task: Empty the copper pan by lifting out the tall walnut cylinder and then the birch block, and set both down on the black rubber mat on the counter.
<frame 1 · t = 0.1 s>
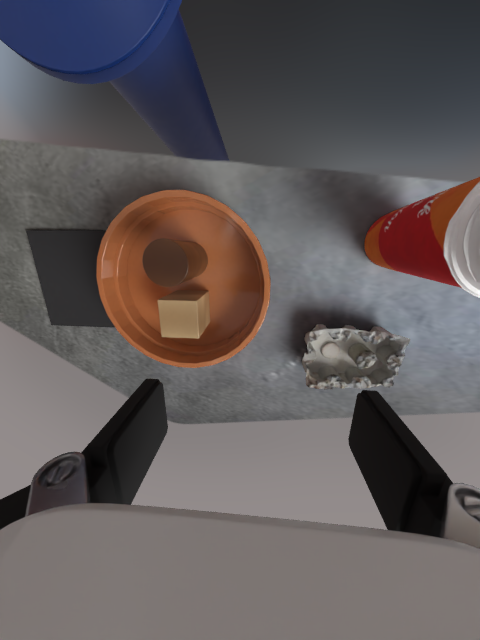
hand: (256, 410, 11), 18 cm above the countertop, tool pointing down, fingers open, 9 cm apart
pan: (193, 283, 27), on the countertop
walnut cylinder: (191, 259, 26), resting on pan
egg carton: (343, 348, 28), on the countertop
mat: (78, 281, 28), on the countertop
birch block: (193, 306, 27), resting on pan
paper cup: (389, 240, 24), on the countertop
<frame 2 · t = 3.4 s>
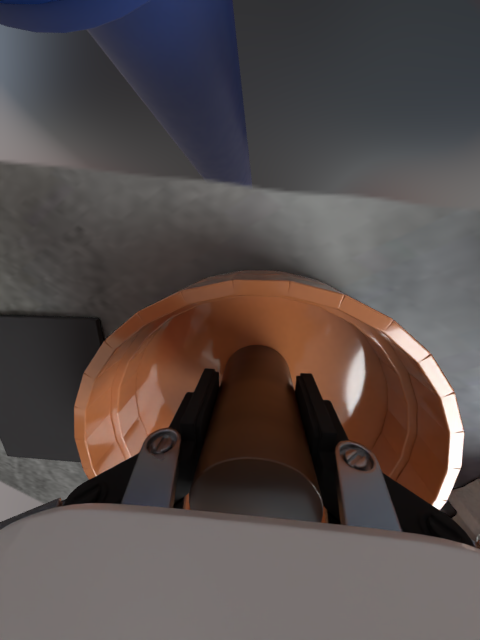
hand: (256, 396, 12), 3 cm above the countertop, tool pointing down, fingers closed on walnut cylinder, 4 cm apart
pan: (255, 406, 15), on the countertop
walnut cylinder: (256, 374, 14), point 1 cm above the countertop, touching gripper, pan
mat: (50, 394, 16), on the countertop
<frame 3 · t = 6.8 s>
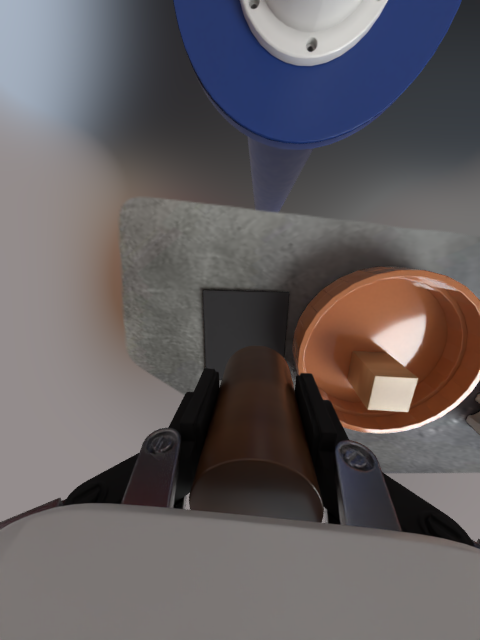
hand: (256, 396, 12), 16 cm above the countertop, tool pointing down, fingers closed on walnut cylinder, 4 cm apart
pan: (368, 343, 27), on the countertop
walnut cylinder: (256, 374, 14), point 14 cm above the countertop, touching gripper
mat: (244, 338, 28), on the countertop
birch block: (366, 366, 27), resting on pan
when the fingers open (3 cm above the countertop, at t = 10.1 s): walnut cylinder stays where it is, resting on mat.
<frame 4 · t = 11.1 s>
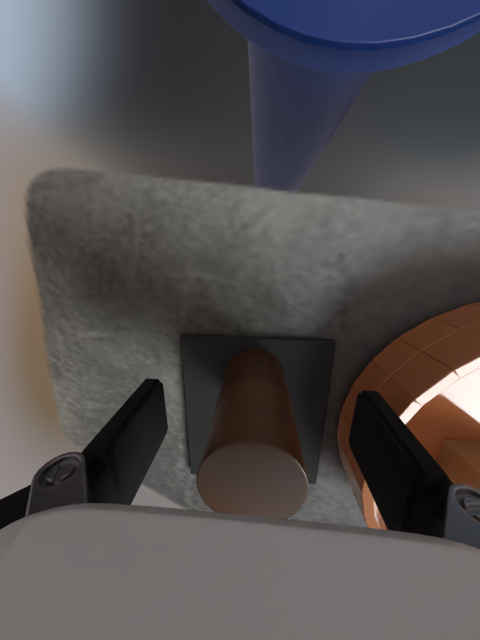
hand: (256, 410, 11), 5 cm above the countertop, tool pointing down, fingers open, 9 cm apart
pan: (471, 425, 15), on the countertop
walnut cylinder: (254, 375, 15), resting on mat
mat: (253, 412, 16), on the countertop
birch block: (466, 463, 16), resting on pan
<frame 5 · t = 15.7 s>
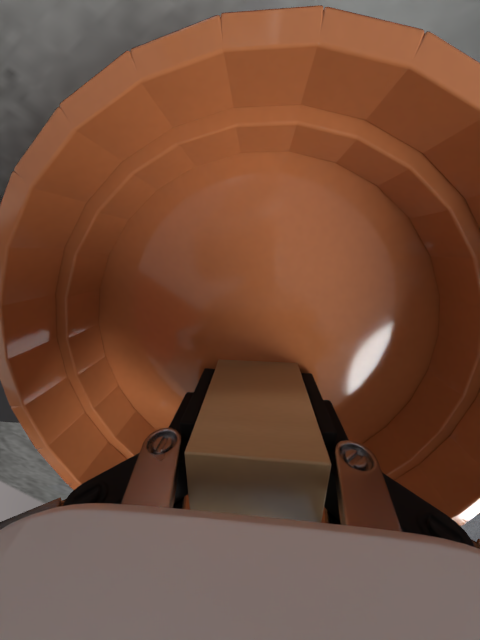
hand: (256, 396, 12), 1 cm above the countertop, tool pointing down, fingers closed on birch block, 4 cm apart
pan: (258, 342, 11), on the countertop
birch block: (256, 394, 12), point 1 cm above the countertop, touching gripper, pan
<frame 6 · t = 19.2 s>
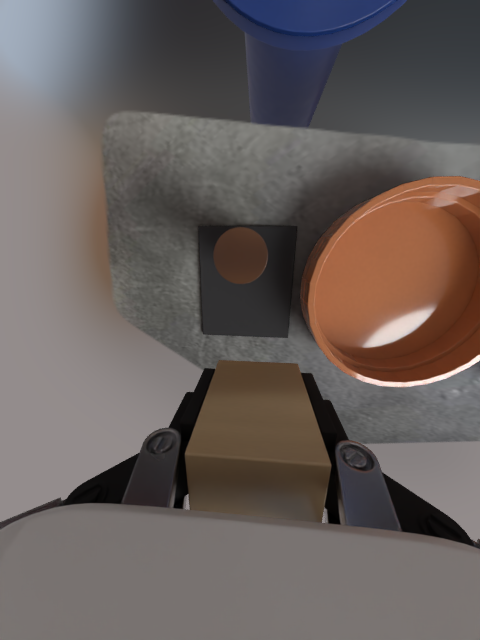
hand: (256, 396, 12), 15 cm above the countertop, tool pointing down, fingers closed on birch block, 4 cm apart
pan: (387, 288, 23), on the countertop
walnut cylinder: (246, 254, 23), resting on mat
mat: (245, 284, 25), on the countertop
birch block: (256, 394, 12), point 15 cm above the countertop, touching gripper
when the fingers open (1 cm above the countertop, at t = 22.7 s): birch block stays where it is, resting on mat.
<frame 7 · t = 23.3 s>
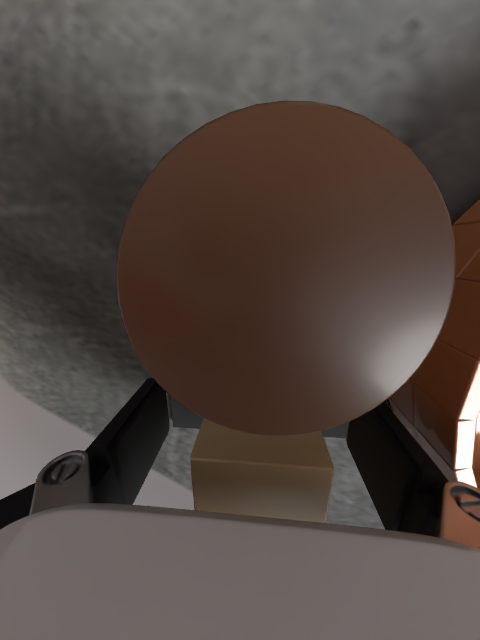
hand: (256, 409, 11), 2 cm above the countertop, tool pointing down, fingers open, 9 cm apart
walnut cylinder: (263, 265, 10), resting on mat
mat: (261, 331, 11), on the countertop
birch block: (258, 398, 12), resting on mat
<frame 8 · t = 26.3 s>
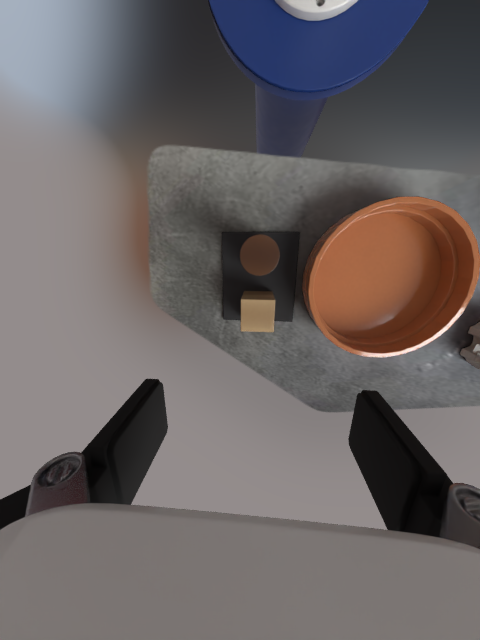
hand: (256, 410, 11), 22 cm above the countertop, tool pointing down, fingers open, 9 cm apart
pan: (371, 280, 30), on the countertop
walnut cylinder: (259, 254, 29), resting on mat
mat: (258, 278, 31), on the countertop
birch block: (257, 305, 31), resting on mat
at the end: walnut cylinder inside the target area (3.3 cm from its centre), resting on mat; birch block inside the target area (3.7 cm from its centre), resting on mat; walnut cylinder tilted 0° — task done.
